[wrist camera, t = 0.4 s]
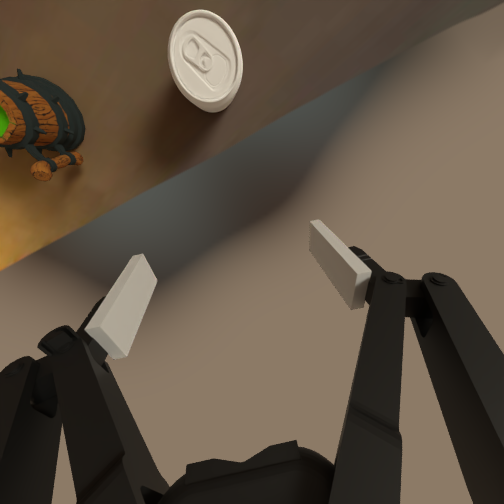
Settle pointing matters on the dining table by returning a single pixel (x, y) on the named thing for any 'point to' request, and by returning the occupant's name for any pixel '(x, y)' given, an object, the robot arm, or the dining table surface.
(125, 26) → the dining table surface
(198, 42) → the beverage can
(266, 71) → the dining table surface
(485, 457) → the robot arm
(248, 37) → the dining table surface
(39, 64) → the dining table surface
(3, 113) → the mug
